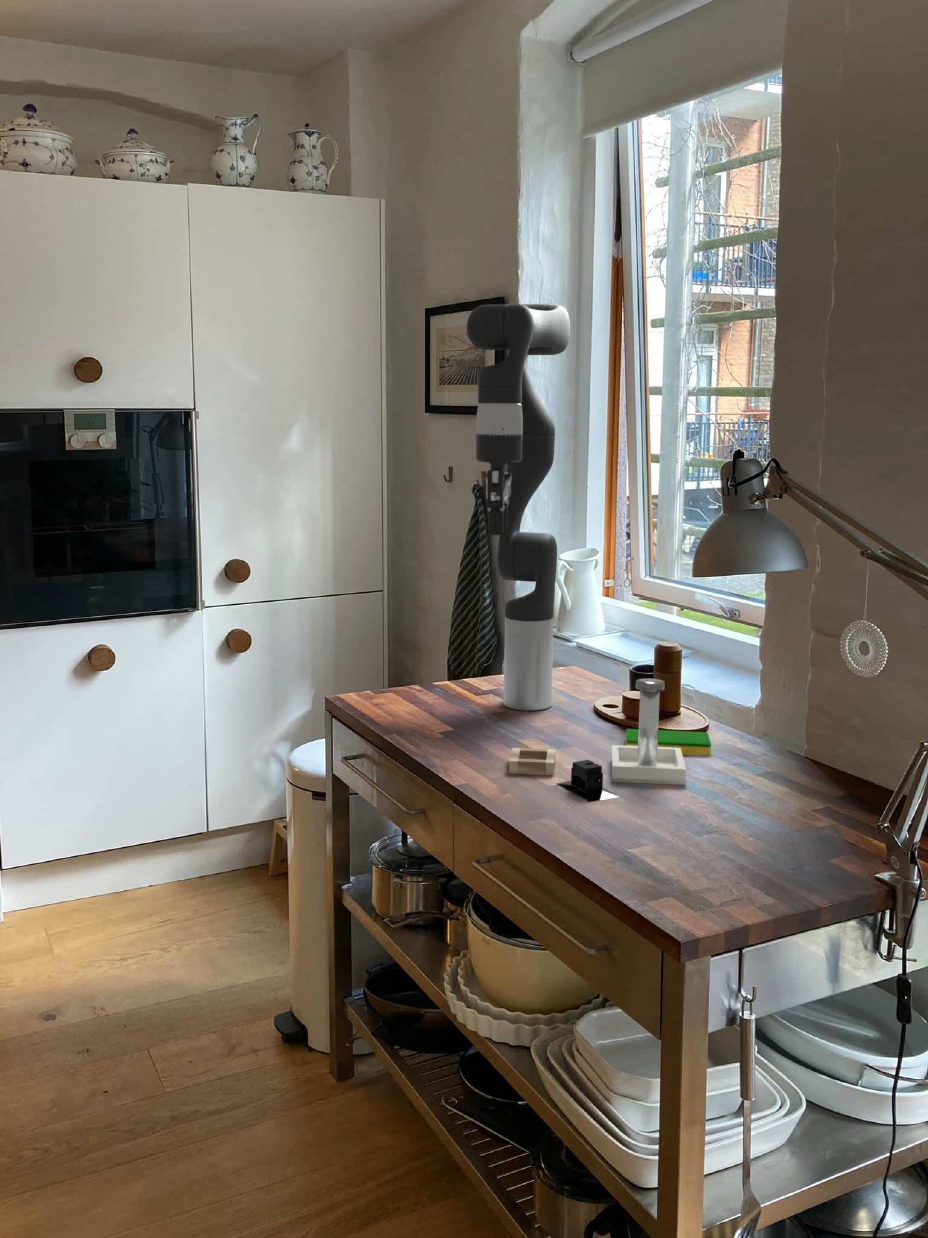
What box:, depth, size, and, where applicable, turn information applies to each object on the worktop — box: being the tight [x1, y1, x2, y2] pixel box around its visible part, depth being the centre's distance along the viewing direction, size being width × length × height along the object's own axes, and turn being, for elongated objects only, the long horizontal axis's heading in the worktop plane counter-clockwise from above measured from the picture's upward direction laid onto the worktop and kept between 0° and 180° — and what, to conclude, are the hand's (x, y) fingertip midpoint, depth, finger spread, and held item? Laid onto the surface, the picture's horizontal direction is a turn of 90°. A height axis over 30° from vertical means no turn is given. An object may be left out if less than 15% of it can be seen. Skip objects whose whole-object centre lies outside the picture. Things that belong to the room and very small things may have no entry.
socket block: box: [508, 747, 557, 776], centre depth 179 cm, size 7×7×2 cm
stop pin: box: [635, 678, 666, 766], centre depth 176 cm, size 4×4×14 cm
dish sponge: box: [625, 728, 712, 756], centre depth 190 cm, size 7×14×2 cm, turn 83°
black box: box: [555, 759, 621, 803], centre depth 168 cm, size 12×7×5 cm, turn 28°
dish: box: [610, 744, 687, 786], centre depth 177 cm, size 11×11×2 cm
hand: (498, 532), depth 185 cm, fingers open, 8 cm apart
